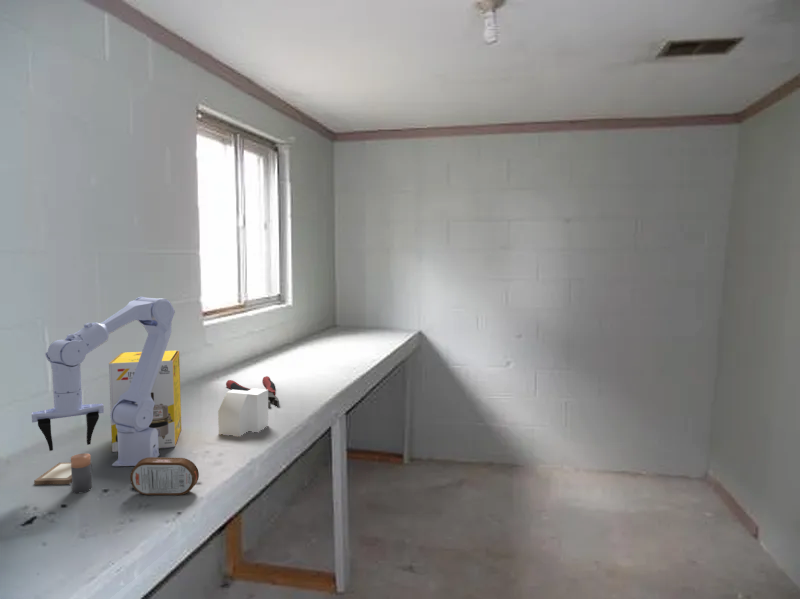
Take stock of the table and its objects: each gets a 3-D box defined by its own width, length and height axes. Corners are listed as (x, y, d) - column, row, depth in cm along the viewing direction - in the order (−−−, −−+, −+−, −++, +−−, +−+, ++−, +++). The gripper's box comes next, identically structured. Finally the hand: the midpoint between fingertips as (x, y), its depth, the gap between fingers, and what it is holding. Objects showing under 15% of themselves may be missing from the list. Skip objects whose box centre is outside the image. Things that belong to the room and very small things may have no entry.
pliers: (298, 406, 201) (298, 397, 201) (249, 413, 193) (249, 403, 192) (269, 383, 234) (269, 375, 233) (226, 387, 225) (226, 379, 225)
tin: (199, 490, 130) (198, 456, 129) (195, 496, 127) (194, 461, 126) (135, 490, 130) (133, 456, 129) (128, 496, 127) (127, 461, 126)
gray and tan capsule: (95, 485, 132) (93, 453, 131) (86, 493, 128) (85, 459, 127) (77, 485, 132) (76, 453, 131) (68, 493, 128) (67, 459, 127)
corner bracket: (268, 426, 177) (268, 389, 176) (249, 438, 166) (249, 399, 165) (239, 423, 180) (238, 386, 178) (218, 434, 169) (217, 395, 168)
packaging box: (112, 452, 153) (108, 363, 151) (124, 433, 169) (121, 352, 166) (174, 447, 157) (172, 360, 155) (181, 429, 173) (179, 350, 171)
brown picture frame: (91, 465, 144) (91, 461, 144) (69, 484, 133) (68, 479, 133) (59, 466, 143) (59, 462, 143) (34, 484, 132) (34, 480, 132)
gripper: (100, 382, 137) (103, 435, 139) (30, 390, 130) (33, 446, 131) (103, 389, 132) (105, 444, 133) (30, 397, 124) (33, 456, 125)
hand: (70, 446), depth 131 cm, fingers open, 7 cm apart
